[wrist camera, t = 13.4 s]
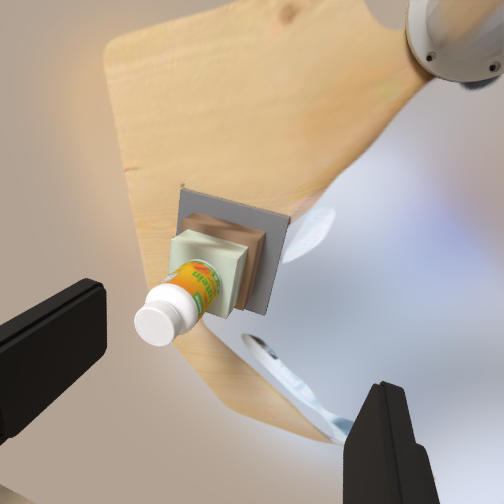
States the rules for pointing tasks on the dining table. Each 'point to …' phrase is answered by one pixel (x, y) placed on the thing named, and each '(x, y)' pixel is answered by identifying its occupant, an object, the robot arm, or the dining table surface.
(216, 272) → the supplement bottle
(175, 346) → the dining table surface
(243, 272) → the two-tone block stack
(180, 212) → the baseplate
